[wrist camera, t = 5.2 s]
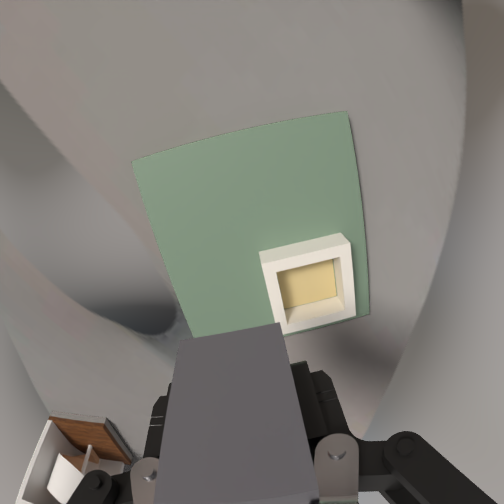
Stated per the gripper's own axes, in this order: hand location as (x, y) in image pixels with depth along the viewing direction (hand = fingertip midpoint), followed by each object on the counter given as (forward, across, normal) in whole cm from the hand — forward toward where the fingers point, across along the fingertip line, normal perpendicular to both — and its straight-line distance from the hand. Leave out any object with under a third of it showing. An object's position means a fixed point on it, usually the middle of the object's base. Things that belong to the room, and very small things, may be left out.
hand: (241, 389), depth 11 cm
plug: (+1, 0, 0) cm, 1 cm away
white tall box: (+18, +31, +28) cm, 45 cm away
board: (+18, -2, +1) cm, 18 cm away
